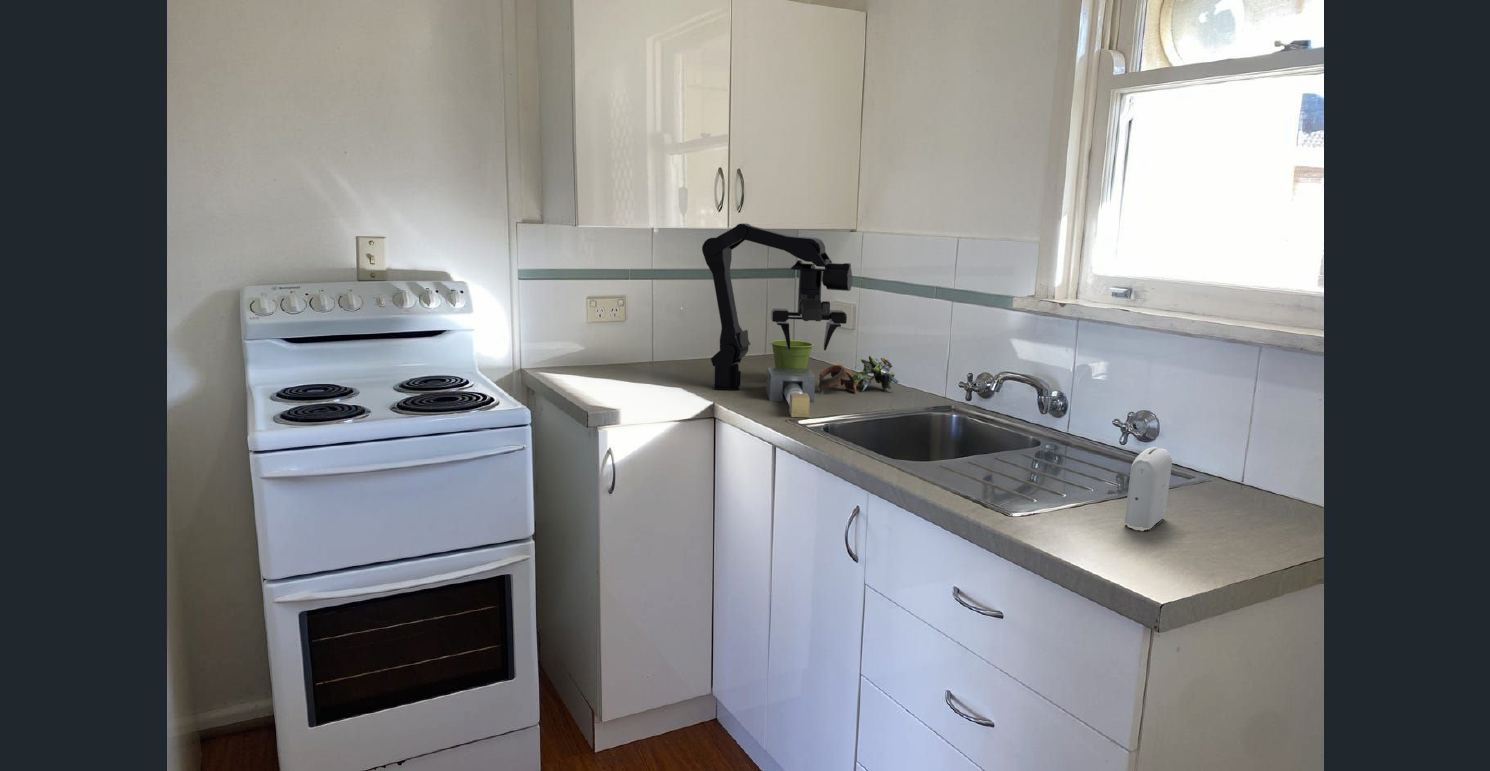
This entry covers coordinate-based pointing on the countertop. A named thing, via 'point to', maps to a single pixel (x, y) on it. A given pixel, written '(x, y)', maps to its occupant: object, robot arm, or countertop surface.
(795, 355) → the plant pot
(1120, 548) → the countertop surface
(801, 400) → the end cover
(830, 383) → the brown lumpy piece
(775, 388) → the housing
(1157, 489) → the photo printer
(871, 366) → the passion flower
